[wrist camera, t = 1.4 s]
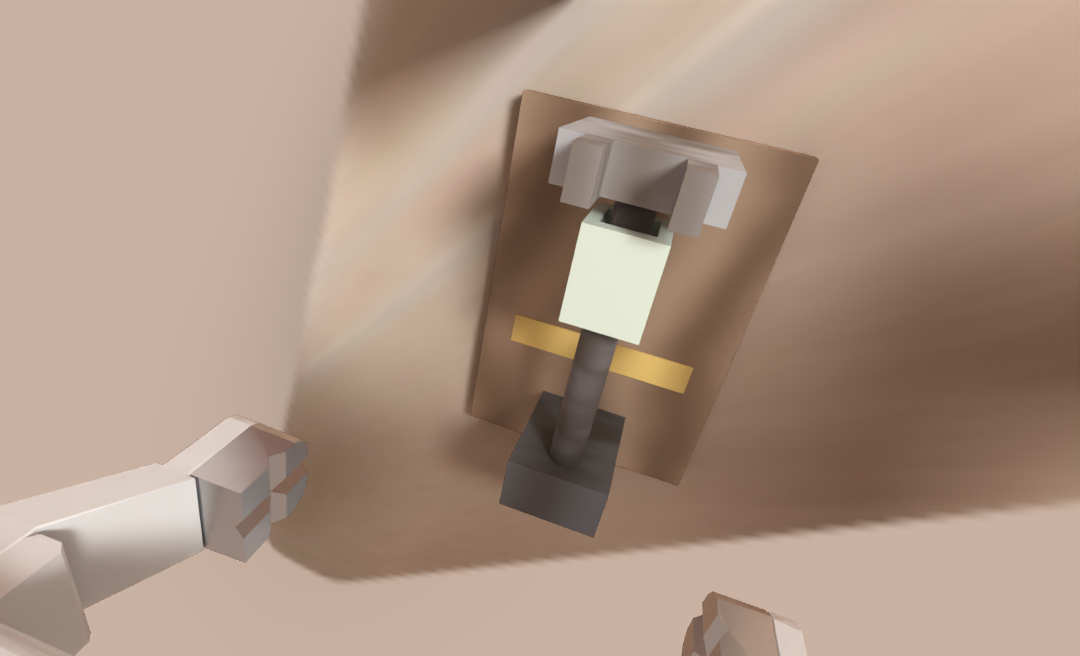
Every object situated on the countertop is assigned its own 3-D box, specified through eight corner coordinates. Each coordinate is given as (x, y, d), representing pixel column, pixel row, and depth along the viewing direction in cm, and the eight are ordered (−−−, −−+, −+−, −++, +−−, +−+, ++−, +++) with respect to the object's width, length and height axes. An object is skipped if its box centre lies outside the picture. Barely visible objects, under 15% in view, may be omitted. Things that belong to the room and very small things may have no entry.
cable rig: (814, 156, 28) (874, 199, 18) (678, 474, 38) (671, 606, 29) (529, 89, 30) (448, 95, 20) (476, 406, 41) (408, 507, 31)
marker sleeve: (675, 221, 26) (670, 246, 22) (647, 309, 29) (638, 345, 25) (598, 201, 27) (581, 222, 23) (577, 289, 29) (558, 320, 25)
